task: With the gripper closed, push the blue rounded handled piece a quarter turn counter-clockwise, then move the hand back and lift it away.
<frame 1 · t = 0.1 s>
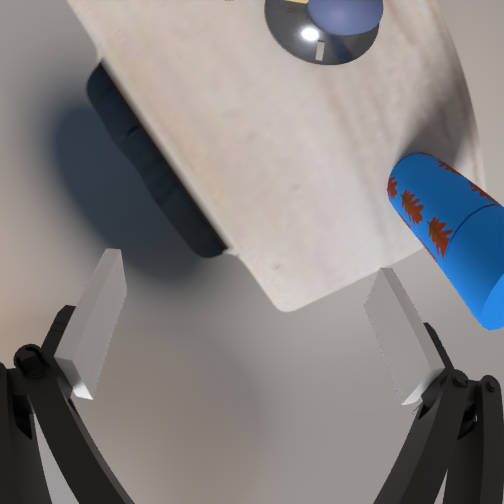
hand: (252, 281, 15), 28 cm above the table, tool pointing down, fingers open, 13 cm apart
post base: (321, 13, 29), on the table
thermos: (416, 184, 43), on the table
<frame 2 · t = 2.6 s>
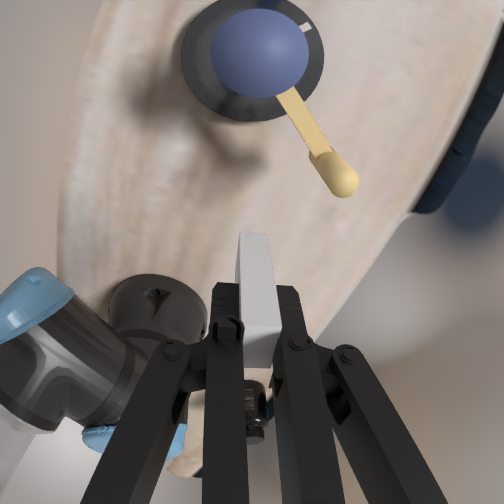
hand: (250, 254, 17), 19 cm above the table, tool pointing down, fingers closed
post base: (252, 55, 27), on the table
blue rounded handled piece: (290, 99, 22), point 9 cm above the table, hinge at 0.0°
supplement bottle: (248, 387, 60), on the table
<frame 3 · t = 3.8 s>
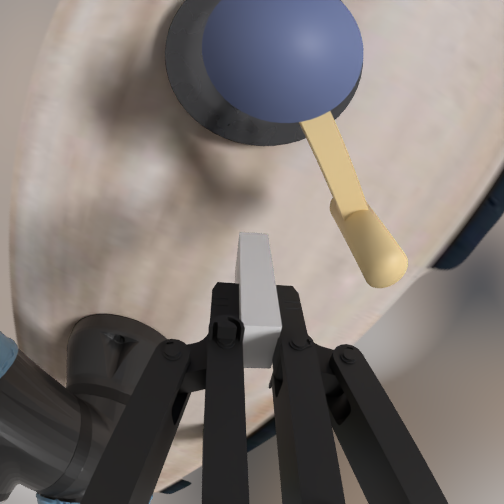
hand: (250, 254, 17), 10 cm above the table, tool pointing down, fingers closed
post base: (264, 53, 20), on the table
blue rounded handled piece: (323, 128, 14), point 9 cm above the table, hinge at 0.0°
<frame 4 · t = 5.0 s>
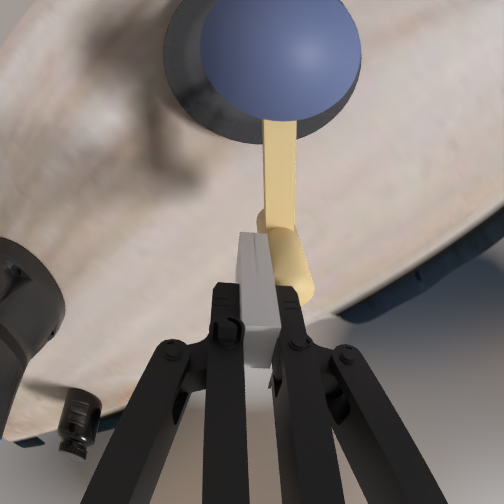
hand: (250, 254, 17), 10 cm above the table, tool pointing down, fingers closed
post base: (263, 52, 20), on the table
blue rounded handled piece: (282, 135, 14), point 9 cm above the table, hinge at 0.1°, touching gripper
supplement bottle: (85, 397, 46), on the table
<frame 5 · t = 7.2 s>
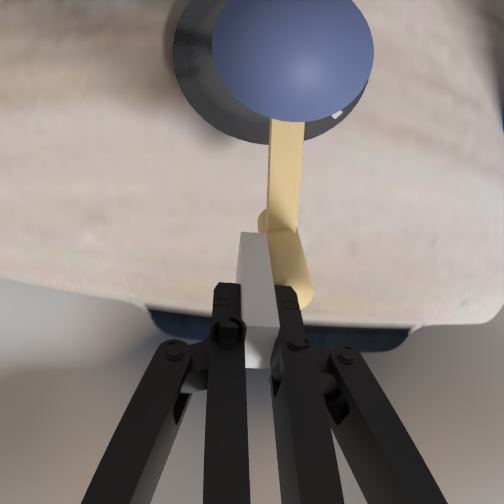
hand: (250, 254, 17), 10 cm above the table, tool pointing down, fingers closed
post base: (273, 52, 19), on the table
blue rounded handled piece: (289, 136, 14), point 10 cm above the table, hinge at 43.1°, touching gripper
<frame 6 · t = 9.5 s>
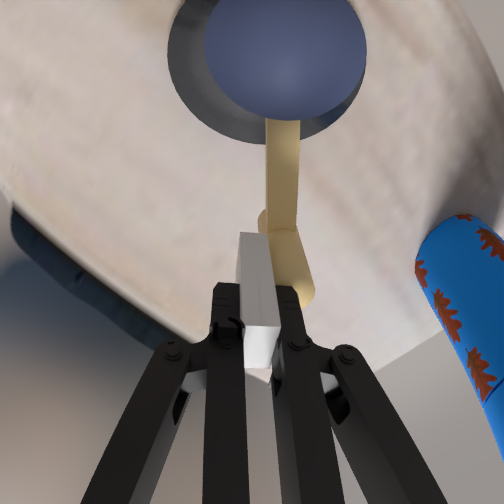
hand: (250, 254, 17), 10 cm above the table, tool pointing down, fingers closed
post base: (267, 52, 19), on the table
blue rounded handled piece: (285, 134, 14), point 10 cm above the table, hinge at 83.7°, touching gripper
thermos: (451, 253, 31), on the table
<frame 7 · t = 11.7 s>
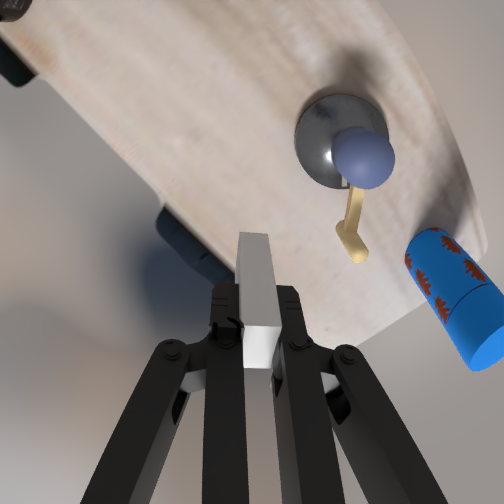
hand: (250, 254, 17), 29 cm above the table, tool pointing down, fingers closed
post base: (341, 141, 42), on the table
blue rounded handled piece: (360, 193, 37), point 9 cm above the table, hinge at 83.7°
thermos: (427, 251, 54), on the table
supplement bottle: (18, 3, 25), on the table
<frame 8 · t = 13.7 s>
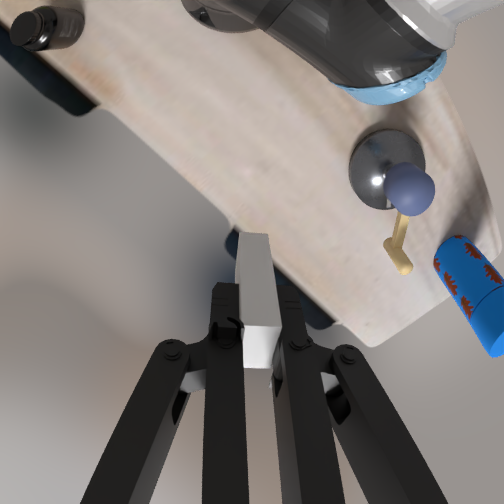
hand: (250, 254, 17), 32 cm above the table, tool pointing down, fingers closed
post base: (386, 168, 48), on the table
blue rounded handled piece: (407, 218, 43), point 10 cm above the table, hinge at 83.7°
thermos: (451, 254, 60), on the table
supplement bottle: (67, 29, 32), on the table
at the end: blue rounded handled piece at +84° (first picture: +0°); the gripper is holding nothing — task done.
